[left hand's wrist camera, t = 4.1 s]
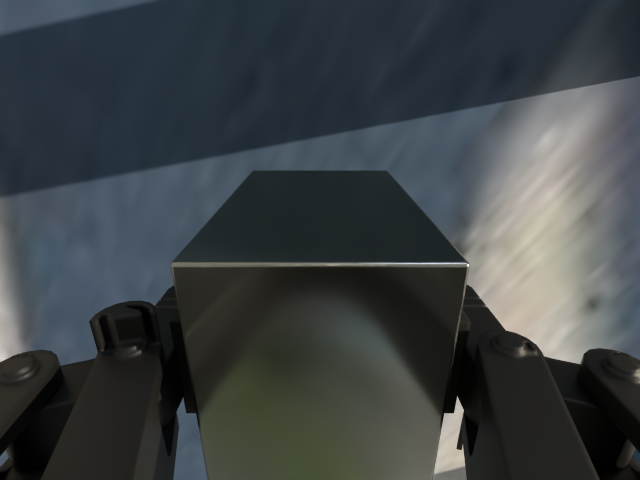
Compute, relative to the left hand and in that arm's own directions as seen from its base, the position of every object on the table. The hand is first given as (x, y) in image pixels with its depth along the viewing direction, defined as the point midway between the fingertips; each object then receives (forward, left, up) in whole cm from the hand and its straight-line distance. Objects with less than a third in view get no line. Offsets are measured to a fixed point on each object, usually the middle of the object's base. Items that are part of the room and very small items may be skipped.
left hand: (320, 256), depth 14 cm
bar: (+7, +4, -1) cm, 8 cm away
